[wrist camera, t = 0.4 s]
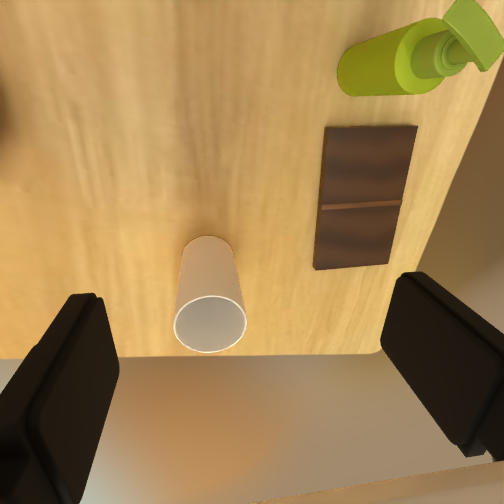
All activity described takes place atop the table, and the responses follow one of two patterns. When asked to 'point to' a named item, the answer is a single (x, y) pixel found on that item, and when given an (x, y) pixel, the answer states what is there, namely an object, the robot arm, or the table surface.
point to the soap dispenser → (421, 53)
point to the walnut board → (361, 194)
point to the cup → (209, 297)
